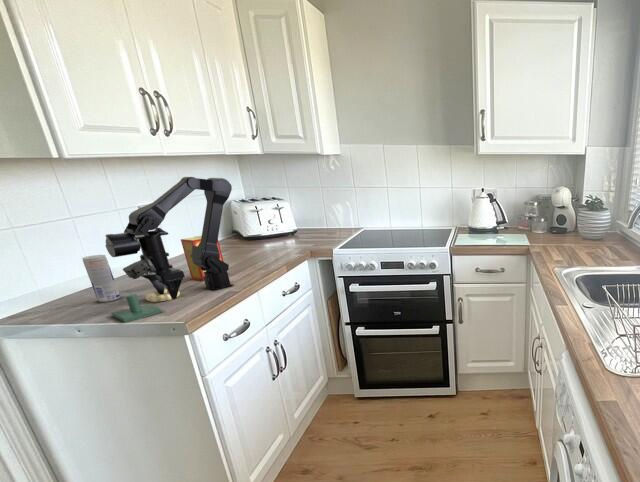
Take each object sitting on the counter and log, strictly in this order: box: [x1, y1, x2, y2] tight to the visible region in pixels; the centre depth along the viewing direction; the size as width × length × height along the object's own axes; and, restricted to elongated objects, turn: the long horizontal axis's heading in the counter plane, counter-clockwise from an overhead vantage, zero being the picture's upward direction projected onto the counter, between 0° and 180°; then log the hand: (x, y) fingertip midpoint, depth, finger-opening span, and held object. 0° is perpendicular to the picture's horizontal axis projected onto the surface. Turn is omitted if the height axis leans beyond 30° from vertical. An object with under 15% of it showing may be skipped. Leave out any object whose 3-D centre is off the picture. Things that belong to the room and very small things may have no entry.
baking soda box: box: [180, 235, 225, 282], centre depth 161 cm, size 10×6×16 cm
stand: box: [111, 293, 162, 323], centre depth 125 cm, size 9×9×6 cm
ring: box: [144, 288, 181, 303], centre depth 140 cm, size 9×9×2 cm
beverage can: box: [81, 254, 121, 303], centre depth 136 cm, size 6×6×15 cm
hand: (167, 296), depth 138 cm, fingers open, 9 cm apart
